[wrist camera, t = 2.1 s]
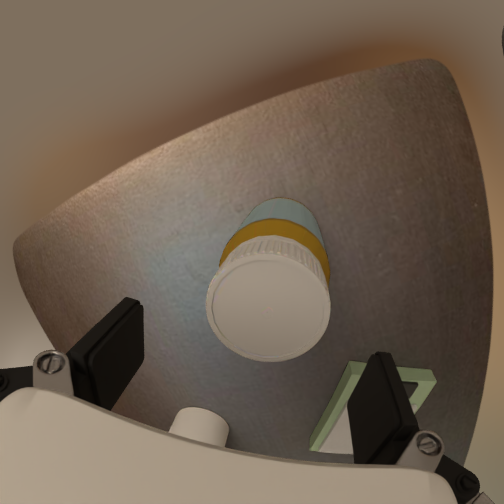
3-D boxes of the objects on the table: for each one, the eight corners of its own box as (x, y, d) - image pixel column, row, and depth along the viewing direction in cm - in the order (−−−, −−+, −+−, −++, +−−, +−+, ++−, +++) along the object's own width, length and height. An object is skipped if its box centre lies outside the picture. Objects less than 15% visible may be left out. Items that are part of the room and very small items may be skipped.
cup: (172, 402, 38) (130, 488, 23) (227, 411, 37) (199, 508, 22) (180, 434, 41) (148, 511, 26) (230, 442, 40) (207, 527, 25)
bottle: (309, 188, 27) (325, 228, 12) (324, 259, 28) (347, 356, 14) (236, 206, 28) (177, 261, 14) (255, 274, 30) (222, 374, 16)
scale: (349, 360, 32) (352, 378, 29) (431, 369, 31) (438, 385, 28) (309, 437, 37) (309, 454, 34) (380, 442, 36) (383, 458, 33)
